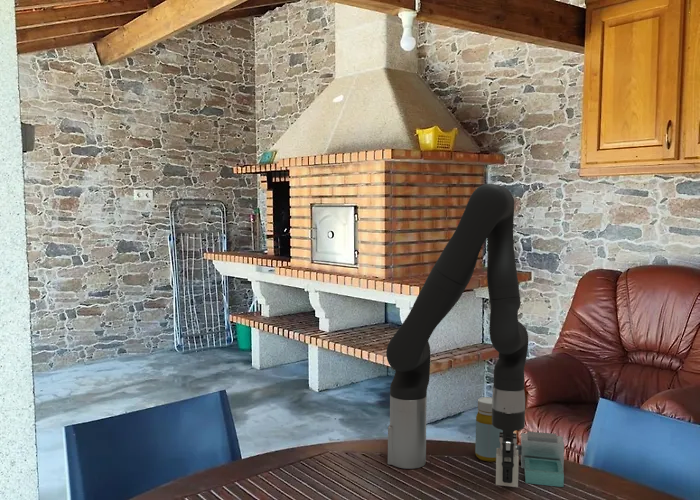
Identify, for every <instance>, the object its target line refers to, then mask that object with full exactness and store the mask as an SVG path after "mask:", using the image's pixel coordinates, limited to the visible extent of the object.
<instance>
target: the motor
mask: <svg viewBox="0 0 700 500" xmlns="http://www.w3.org/2000/svg"><path fill="white" fill-rule="evenodd" d="M520 434H521V435H520V437H521V438H520V439H521V440H520V441H521V442H520V444H516V450H518V456H520V467H521V469H523V470H524V481H525V484H530V485H540V486H551V487H558V488H560V487H561V488H564V486H565V485H564V483H565V474H564V473H565V472H564V468H565V467H564V464H565V463H564V462H565V461H564V459H565V456H564V455H565V442H564V439H563V436H562V435H557V433H554V432H553V433H551V432H550V433H548V432H540V431H527V432H521V433H520Z"/></svg>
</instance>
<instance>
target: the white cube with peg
mask: <svg viewBox="0 0 700 500" xmlns="http://www.w3.org/2000/svg"><path fill="white" fill-rule="evenodd" d="M519 456H520V455H518V450H516V454H515V457H514V458H513V464H514V466H513V475H512V483H504V482H503V467H502V456H501V455H500V448H497V452H496V461H495V486H502V487H504V486H505V487H513V488H519V463H520V462H519V458H520V457H519ZM505 461H508V462H511V458H509V457H505V458H504V462H505Z"/></svg>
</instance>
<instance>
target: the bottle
mask: <svg viewBox="0 0 700 500" xmlns="http://www.w3.org/2000/svg"><path fill="white" fill-rule="evenodd" d="M500 432H503V430H501V429H497V428H495V427H494V426H493V425H492V397H490V396H483V397H479V398H478V399H477V413H476V416H475V445H474V446H475V448H474V449H475V456H476V457H477V459H479V460H480V461H484V462H489V463H491V462H495V463H496V452H497V448H500V443H499V435H500Z"/></svg>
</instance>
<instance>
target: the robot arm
mask: <svg viewBox="0 0 700 500" xmlns="http://www.w3.org/2000/svg"><path fill="white" fill-rule="evenodd" d="M514 219H515V198H514V195H513V194H512V193H511V191H510V190H509V189H508V188H507V187H505V186H503V185H501V184H496V183H484V184H481V185H480V186H478V187H477V188H475V190H473V192H472V193H471V195H470V197H469V199H468V201H467V204H466V206H465V209H464V211H463V213H462V215H461V218H460V220H459V221H458V224H457V227H456V229H455V230H454V233H453V234H452V236H451V237H450V239H449V241H448V242H447V243H446V245H445V247H444V248H443V250H442V252H441V253H440V254H439V257H438V259H437V260H436V262H435V264H434V265H433V267H432V269H431V270H430V272H429V274H428V275H427V277H426V280H425V281H424V284H423V285H422V287H421V289H420V291H419V293H418V295H417V297H416V299H415V300H414V303H413V305H412V307H411V309H410V311H409V313H408V314H407V316H406V318H405V319H404V321H403V322H402V324H401V325H400V327H399V328H398V329H397V331H396V332H395V334H394V335H393V336H392V337H391V339H390V341H389V342H388V344H387V347H386V351H385V352H386V360H387V363H388V365H389V366H390V367H391V368H392V369H393V370H395V371H394V376H393V378H392V381H391V383H390V388H389V425H388V427H387V465H389V466H390V465H392V466H394V467H396V468H401V469H405V470H406V469H410V470H411V469H413V470H414V469H419V468H421V467H422V468H423V467H424V466H425V465H426V460H427V410H428V409H427V407H428V406H427V404H428V399H427V397H428V396H427V395H428V386H429V384H430V374H431V346H430V343H429V339H430V338H431V336H432V334H433V332H434V331H435V330H436V327H438V325H439V324H440V323H442V321H443V319H445V317H446V316H447V315H448V314H449V313H450V312H451V310H452V309H453V308H454V307H455V305H457V303H458V301H459V300H460V298H461V297H462V295H463V294H464V292H465V290H466V289H467V286H468V284H469V282H470V281H471V279H472V277H473V275H474V271H475V268H476V266H477V262H478V258H479V254H480V251H481V249H482V247H483V245H484V243H485V242H486V241H487V262H486V263H487V265H486V280H487V283H486V284H487V291H488V297H489V304H490V306H489V307H490V311H489V338H490V342H491V345H492V346H493V349H495V351H497V352H498V358H497V362H496V363H495V365H494V369H493V389H492V395H491V396H492V425H493V426H494V427H495V428H497V429H501V430H503V432H500V435H499V443H500V455H501V456H502V467H503V482H504V483H512V475H513V466H514V464H513V458H514V457H515V454H516V445H518V443H517V441H518V438H517V437H518V436H517V433H516V431H518V432H519V431H521V430H523V429H524V428H525V426H526V394H525V365H526V362H527V354H528V349H529V333H528V330H527V328H526V327H525V325H524V324H523V323H522V322H519V317H518V316H519V315H518V313H519V309H520V308H521V292H520V285H519V278H518V271H517V265H516V257H515V256H516V255H515V245H514ZM505 457H509V458H511V462H508V461H505V462H504V458H505Z"/></svg>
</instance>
